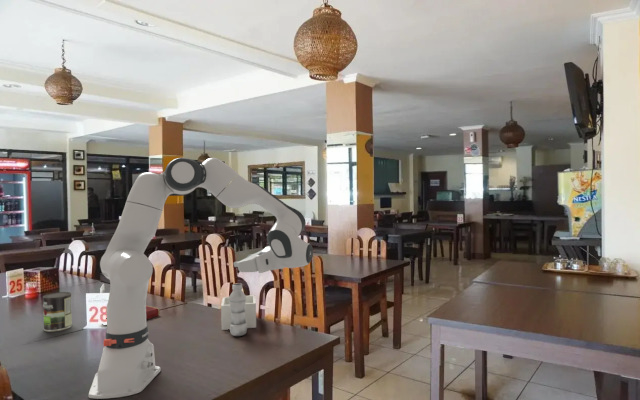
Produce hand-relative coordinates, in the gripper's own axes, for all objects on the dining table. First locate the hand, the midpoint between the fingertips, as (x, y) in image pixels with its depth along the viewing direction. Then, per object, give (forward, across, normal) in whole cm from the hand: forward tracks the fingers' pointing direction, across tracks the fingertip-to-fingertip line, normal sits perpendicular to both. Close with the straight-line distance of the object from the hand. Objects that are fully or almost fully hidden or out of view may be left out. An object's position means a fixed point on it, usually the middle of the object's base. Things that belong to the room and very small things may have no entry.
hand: (241, 260), depth 158 cm
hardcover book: (+64, +3, +22) cm, 68 cm away
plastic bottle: (+7, +3, +29) cm, 30 cm away
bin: (+15, -10, +29) cm, 35 cm away
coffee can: (+85, +21, +16) cm, 89 cm away
